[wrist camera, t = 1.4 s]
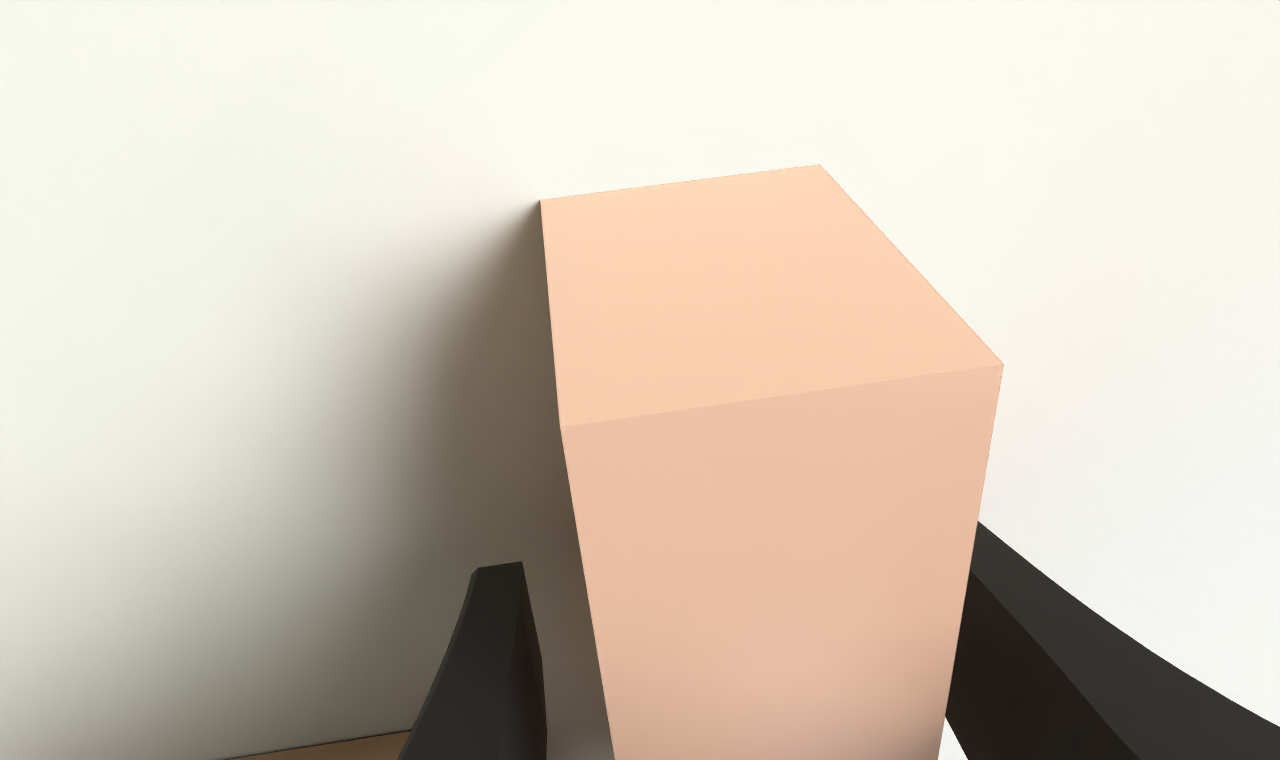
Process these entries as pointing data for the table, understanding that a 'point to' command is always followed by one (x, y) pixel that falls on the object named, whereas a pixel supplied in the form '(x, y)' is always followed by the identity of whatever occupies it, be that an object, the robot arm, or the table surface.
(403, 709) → the table surface
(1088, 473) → the table surface
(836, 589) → the peach rectangular block
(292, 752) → the rack
